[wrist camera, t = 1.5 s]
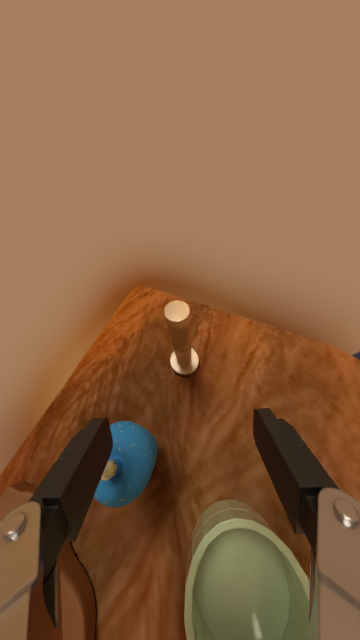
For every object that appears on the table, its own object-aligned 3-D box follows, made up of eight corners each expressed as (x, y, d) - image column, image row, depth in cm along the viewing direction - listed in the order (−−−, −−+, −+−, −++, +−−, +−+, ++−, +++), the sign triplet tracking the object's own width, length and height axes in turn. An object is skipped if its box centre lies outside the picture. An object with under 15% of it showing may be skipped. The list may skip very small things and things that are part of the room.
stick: (194, 345, 30) (194, 287, 17) (202, 371, 28) (208, 325, 15) (168, 352, 30) (148, 297, 17) (174, 378, 28) (156, 338, 15)
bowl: (261, 487, 20) (279, 504, 16) (317, 643, 15) (366, 729, 11) (177, 513, 20) (172, 537, 15) (204, 685, 14) (208, 794, 10)
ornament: (148, 415, 25) (100, 404, 12) (178, 438, 23) (159, 453, 11) (124, 453, 23) (37, 487, 10) (156, 481, 21) (98, 564, 9)
